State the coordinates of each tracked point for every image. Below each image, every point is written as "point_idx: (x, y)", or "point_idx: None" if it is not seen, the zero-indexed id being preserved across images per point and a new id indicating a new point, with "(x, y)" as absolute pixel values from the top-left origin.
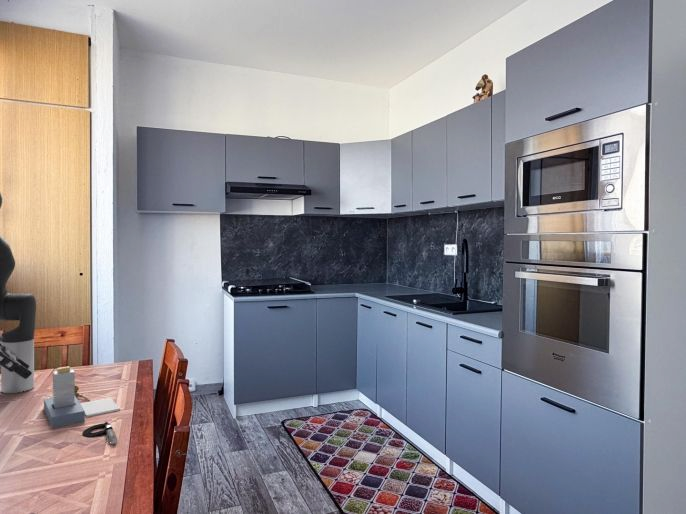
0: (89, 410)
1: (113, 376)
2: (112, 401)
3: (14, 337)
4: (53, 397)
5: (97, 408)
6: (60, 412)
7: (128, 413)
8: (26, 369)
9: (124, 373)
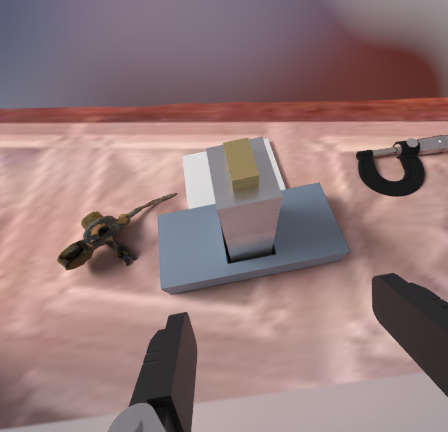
0: None
1: (11, 161)
2: None
3: None
4: (245, 247)
5: None
6: (313, 233)
7: (293, 128)
8: (428, 299)
9: (7, 144)
